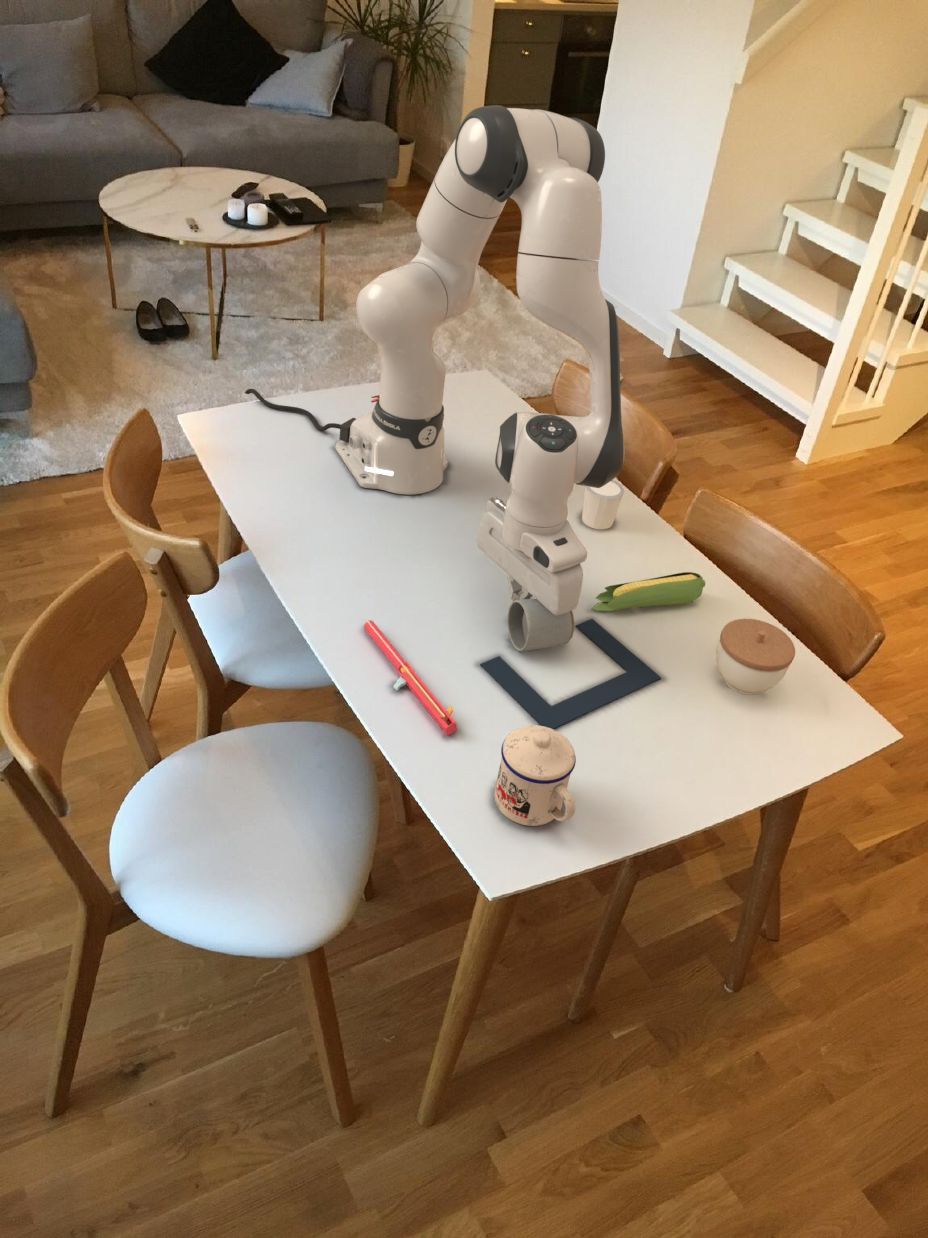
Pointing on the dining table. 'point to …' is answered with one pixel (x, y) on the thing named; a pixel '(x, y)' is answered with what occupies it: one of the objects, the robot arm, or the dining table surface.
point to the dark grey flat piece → (586, 700)
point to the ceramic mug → (537, 625)
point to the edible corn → (652, 592)
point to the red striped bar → (412, 680)
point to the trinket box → (753, 655)
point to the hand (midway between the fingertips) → (519, 602)
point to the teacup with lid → (535, 776)
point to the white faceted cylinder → (601, 505)
